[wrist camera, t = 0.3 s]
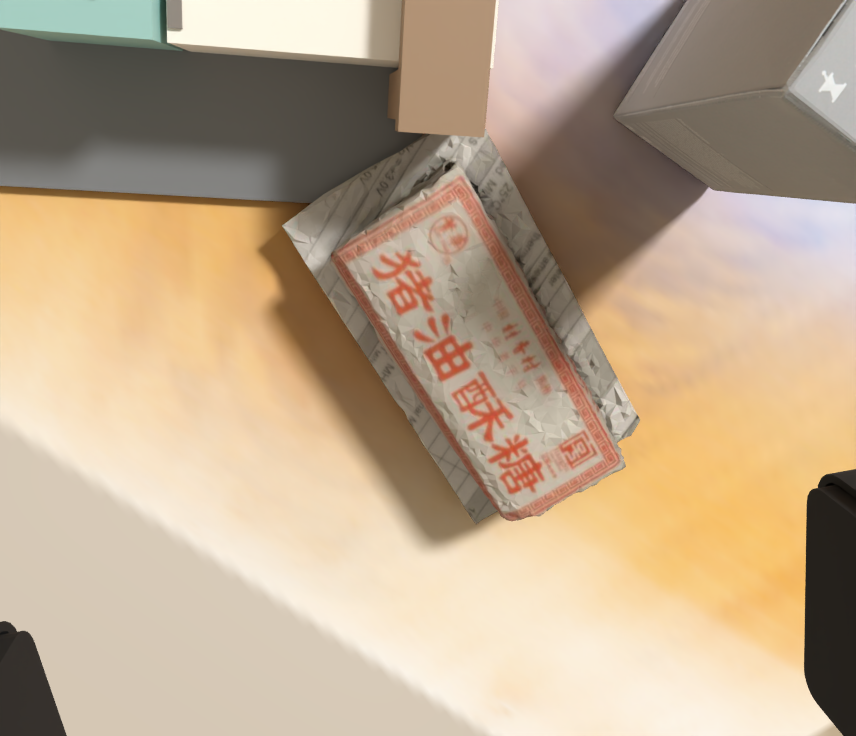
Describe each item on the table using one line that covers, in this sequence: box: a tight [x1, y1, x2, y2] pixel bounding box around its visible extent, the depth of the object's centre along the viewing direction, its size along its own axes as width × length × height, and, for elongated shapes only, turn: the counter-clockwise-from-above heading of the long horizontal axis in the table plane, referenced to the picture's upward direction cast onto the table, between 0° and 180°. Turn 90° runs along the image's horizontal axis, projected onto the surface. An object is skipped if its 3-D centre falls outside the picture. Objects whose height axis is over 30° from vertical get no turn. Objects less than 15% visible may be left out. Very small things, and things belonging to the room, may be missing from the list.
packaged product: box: [282, 129, 640, 524], centre depth 37 cm, size 18×5×10 cm
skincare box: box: [614, 0, 856, 203], centre depth 29 cm, size 8×7×16 cm
